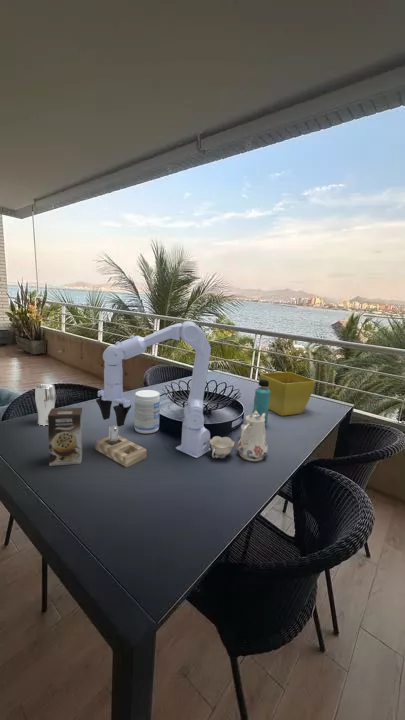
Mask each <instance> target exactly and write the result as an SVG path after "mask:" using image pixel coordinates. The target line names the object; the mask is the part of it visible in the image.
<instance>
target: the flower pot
mask: <svg viewBox="0 0 405 720" xmlns="http://www.w3.org/2000/svg"><path fill="white" fill-rule="evenodd" d="M259 380H267V381H269V386H268V387H266V388H268V389H269V390H270V400H269V409H268V410H270V411H272V412H274V413H276V414H277V415H279V416H281V417H283V416H284V417H285V416H289V415H290V416H291V415H298V414H303V412H304V410H305V408H306V407H307V405H308V403H309V400H310V399H311V396H312V394H313V391H314V388H315V385H316V380H314V379H311V378H308V377H306V376H303V375H301V374H297V373H294V372H291V371H282V372H280V371H279V372H262V373H259ZM260 387H263V386H260Z"/></svg>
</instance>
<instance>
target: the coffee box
mask: <svg viewBox="0 0 405 720" xmlns="http://www.w3.org/2000/svg"><path fill="white" fill-rule="evenodd" d="M47 427H48V466H50V467H52V466H53V467H54V466H65V465H78V464H81V463H82V457H83V407H61V408H59V407H58V408H57V407H56V408H55V407H54V408H52V409H51V411H50V412H49V415H48V426H47Z"/></svg>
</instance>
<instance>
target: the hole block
mask: <svg viewBox="0 0 405 720" xmlns="http://www.w3.org/2000/svg"><path fill="white" fill-rule="evenodd" d="M95 450H96V451H97V452H99V453H100V454H103V455H104V456H106V457H107V458H110V459H111V460H113V461H114V462H117V463H118V464H119V465H121V466H123V467H125V468H128V467H130V466H133V465H135V464H136V463H139V462H140V461H142V460H145V459H147V449H146V448H144V447H142V446H141V445H139V444H137V443H134V442H132V441H130V440H128V439H127V438H124V437H122V436H121V435H119V434H118V443H117V444H115V445H112V446H111V445H109V436H107V437H103V438H101V439H98V440H95Z"/></svg>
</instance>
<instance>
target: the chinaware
mask: <svg viewBox="0 0 405 720" xmlns="http://www.w3.org/2000/svg"><path fill="white" fill-rule="evenodd" d="M265 415H266V413H263V414H262V416H260V415H259V414H258V412H257V411H255V412H254V413H253V412H252V413H251V414H249V415H246V416H245V420H246V424H244V423H243V424H241V425H240V431H241V433H240V439H239V440H238V442H237V445H236V442H235V441H234V440H232V438H230V437H229V436H223V437H221V436H219V435H215V436H213V437H212V438H210V440H209V443H210V446H211V451H212V453H211V456H212V458H213V459H214V458H216V459H218V458H219V459H225V458H227V457H226V456H228V455H230V454H231V451H232V449H233V447H234V446H235V445H236V450H237V451H238V453H239V456H240V457H241V458H242V459H244V460H246V461H250V462H260V461H262V460H264V458H265V456H266V455H267V454H268V449H269V445H268V443H267V442H266V434H267V432H266V425H265V423H264V421H265Z"/></svg>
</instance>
